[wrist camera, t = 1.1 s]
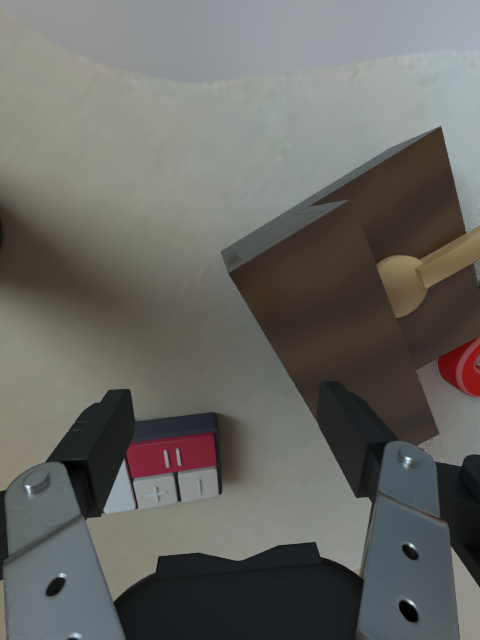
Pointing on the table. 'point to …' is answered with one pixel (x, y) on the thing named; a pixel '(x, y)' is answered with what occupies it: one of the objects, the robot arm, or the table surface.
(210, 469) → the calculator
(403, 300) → the spoon
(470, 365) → the decorative ornament
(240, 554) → the table surface
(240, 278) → the shelf
